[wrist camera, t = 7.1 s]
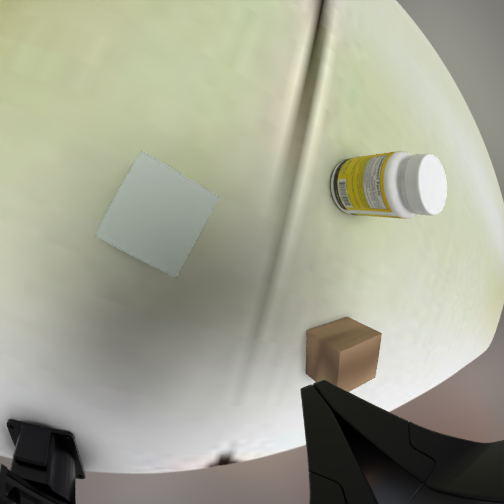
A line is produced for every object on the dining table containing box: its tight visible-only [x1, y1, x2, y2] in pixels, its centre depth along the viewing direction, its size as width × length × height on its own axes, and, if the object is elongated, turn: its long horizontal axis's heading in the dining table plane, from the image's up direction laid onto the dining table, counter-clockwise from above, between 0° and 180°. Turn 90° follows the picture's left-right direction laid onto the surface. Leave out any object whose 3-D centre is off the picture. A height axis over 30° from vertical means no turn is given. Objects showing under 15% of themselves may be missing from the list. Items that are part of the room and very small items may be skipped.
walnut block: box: [306, 317, 382, 392], centre depth 22 cm, size 4×4×4 cm
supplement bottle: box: [331, 151, 447, 219], centre depth 19 cm, size 5×5×8 cm
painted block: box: [95, 151, 220, 278], centre depth 15 cm, size 4×4×4 cm
